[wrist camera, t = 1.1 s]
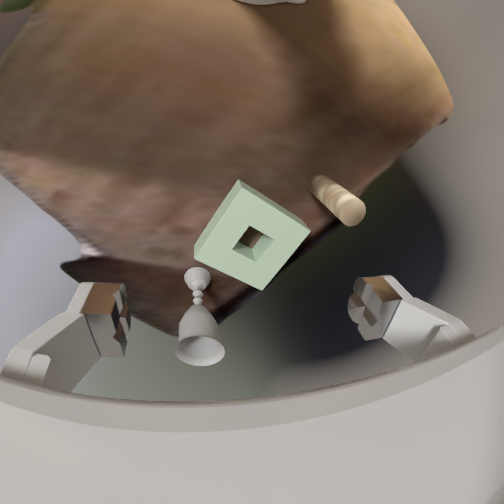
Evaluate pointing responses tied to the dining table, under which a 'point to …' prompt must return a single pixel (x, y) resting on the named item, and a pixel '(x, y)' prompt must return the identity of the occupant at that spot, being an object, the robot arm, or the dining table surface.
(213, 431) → the robot arm
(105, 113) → the dining table surface
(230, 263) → the socket block
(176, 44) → the dining table surface
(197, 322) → the chalice
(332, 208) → the peg
